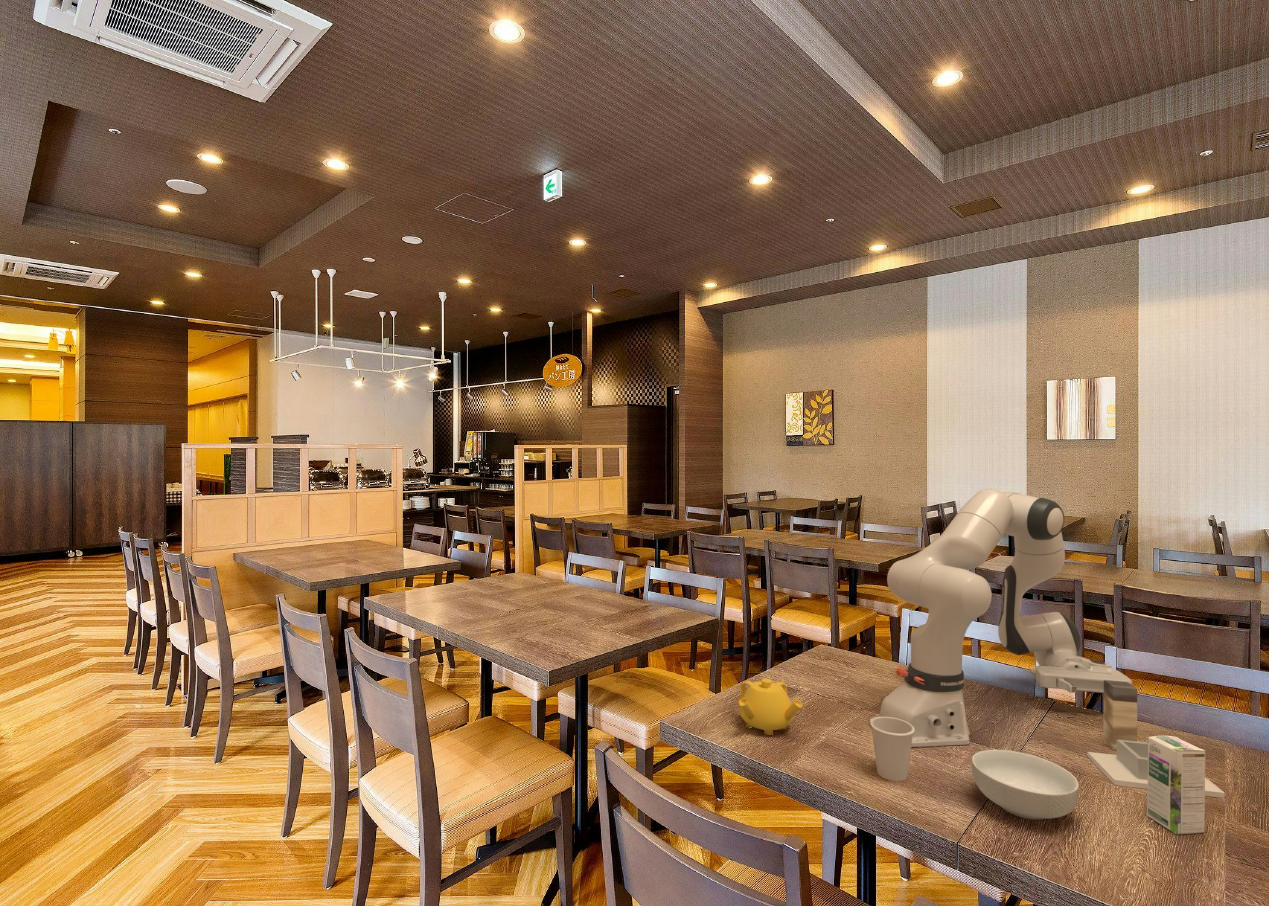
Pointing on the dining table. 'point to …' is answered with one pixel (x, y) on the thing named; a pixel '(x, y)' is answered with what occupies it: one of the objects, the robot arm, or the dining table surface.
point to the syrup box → (1176, 784)
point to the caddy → (1134, 767)
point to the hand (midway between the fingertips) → (1095, 691)
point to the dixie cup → (892, 747)
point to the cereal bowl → (1025, 784)
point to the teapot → (767, 705)
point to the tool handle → (1119, 712)
